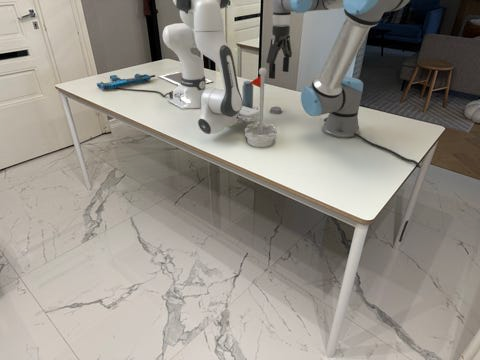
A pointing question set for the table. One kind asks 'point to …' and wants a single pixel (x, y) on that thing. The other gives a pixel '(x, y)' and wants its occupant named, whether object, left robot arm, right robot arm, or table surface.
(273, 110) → the lid
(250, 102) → the jar
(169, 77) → the tablet
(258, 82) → the flag stand
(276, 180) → the table surface
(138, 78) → the submachine gun
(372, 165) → the table surface
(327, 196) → the table surface
